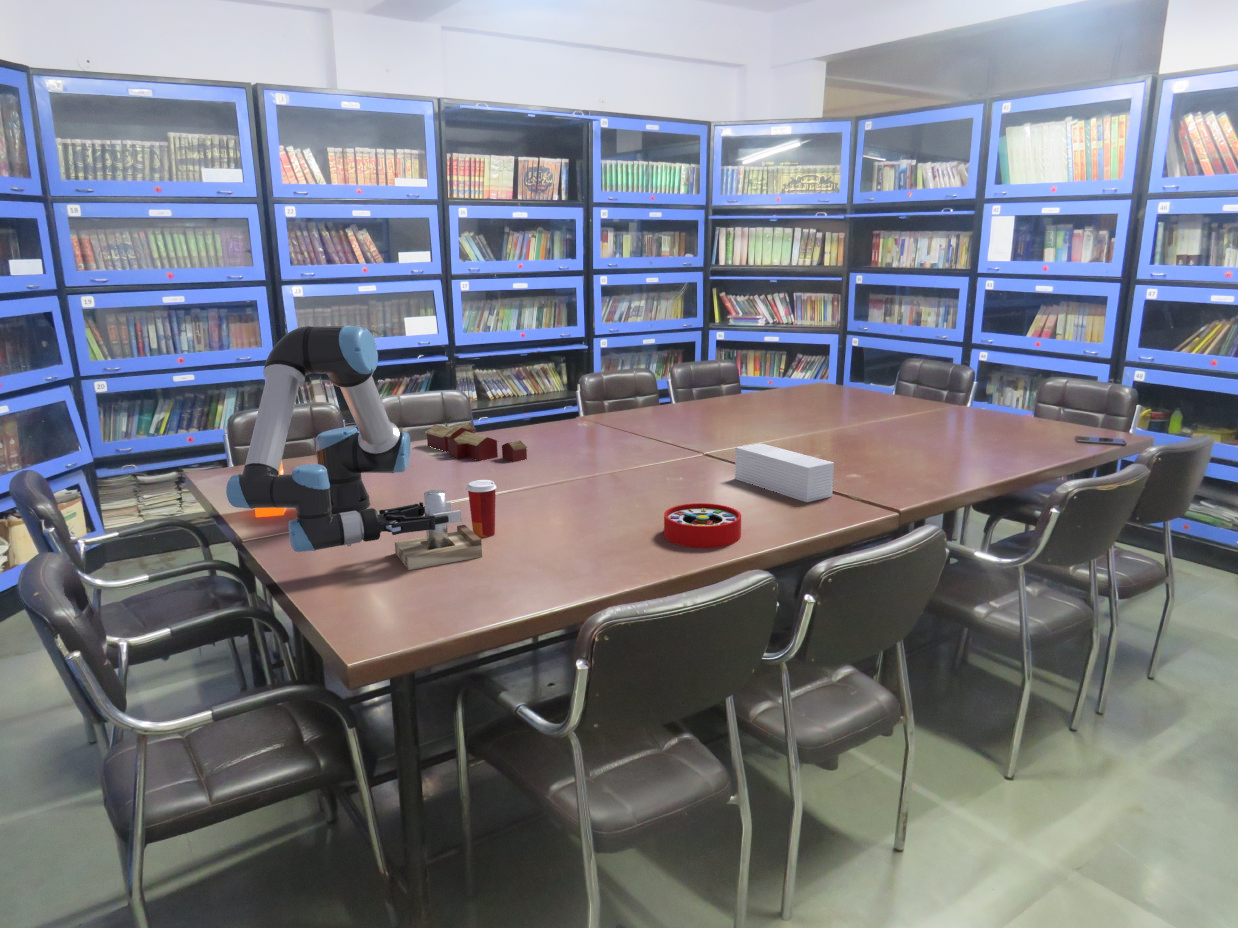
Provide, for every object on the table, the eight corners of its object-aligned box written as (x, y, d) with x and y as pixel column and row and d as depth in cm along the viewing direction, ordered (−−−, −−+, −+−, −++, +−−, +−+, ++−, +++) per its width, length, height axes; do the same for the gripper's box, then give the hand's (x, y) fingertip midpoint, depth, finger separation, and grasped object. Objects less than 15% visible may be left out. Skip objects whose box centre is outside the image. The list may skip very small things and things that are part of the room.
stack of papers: (734, 479, 270) (735, 447, 268) (759, 474, 276) (760, 443, 273) (806, 503, 244) (808, 467, 242) (832, 497, 250) (834, 462, 247)
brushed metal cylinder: (425, 553, 206) (421, 491, 202) (445, 549, 208) (441, 488, 204) (431, 560, 202) (427, 497, 197) (451, 556, 204) (447, 494, 200)
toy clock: (713, 532, 203) (648, 516, 215) (713, 554, 204) (648, 537, 216) (755, 512, 217) (692, 498, 230) (755, 533, 219) (692, 519, 231)
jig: (395, 553, 207) (394, 536, 205) (465, 541, 215) (464, 524, 214) (408, 570, 195) (407, 552, 194) (482, 556, 204) (481, 539, 203)
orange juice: (255, 517, 236) (246, 449, 231) (259, 508, 245) (251, 442, 240) (284, 514, 238) (276, 447, 233) (287, 506, 247) (280, 440, 242)
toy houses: (421, 448, 319) (419, 422, 317) (467, 440, 333) (465, 415, 330) (487, 469, 287) (486, 440, 285) (535, 459, 301) (534, 431, 298)
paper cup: (500, 529, 224) (497, 478, 220) (497, 538, 216) (494, 486, 213) (471, 529, 224) (468, 479, 220) (467, 539, 216) (463, 487, 213)
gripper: (353, 529, 204) (444, 514, 214) (371, 554, 187) (469, 537, 197) (350, 500, 202) (442, 486, 212) (368, 522, 185) (467, 507, 195)
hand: (455, 511), depth 205 cm, fingers open, 7 cm apart
